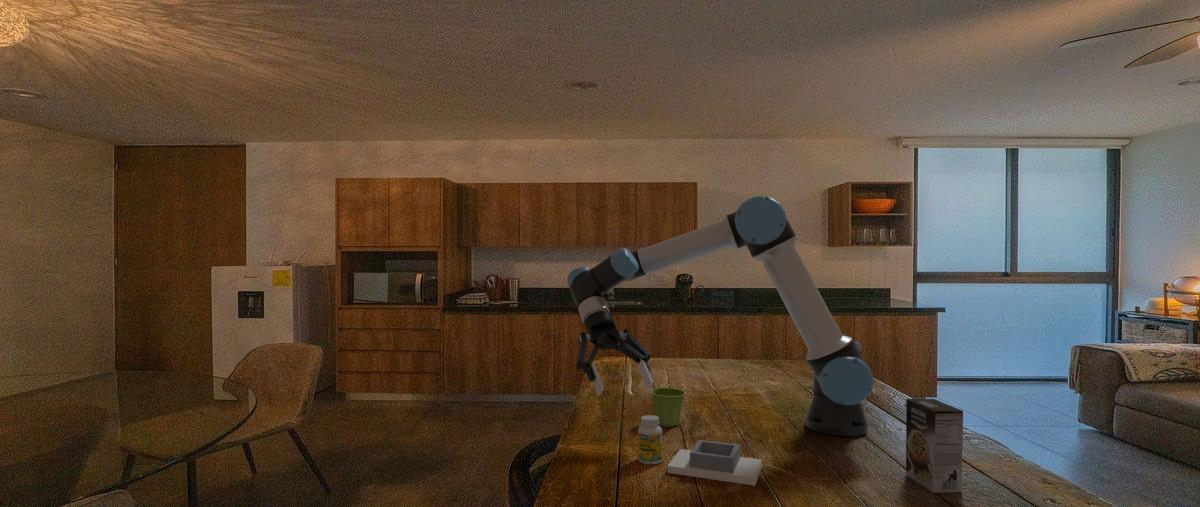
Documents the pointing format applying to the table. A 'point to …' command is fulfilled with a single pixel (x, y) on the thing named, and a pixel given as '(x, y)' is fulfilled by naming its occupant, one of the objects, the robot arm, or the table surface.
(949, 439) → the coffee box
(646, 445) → the supplement bottle
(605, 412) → the table surface
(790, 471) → the table surface
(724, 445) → the white base grey socket
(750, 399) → the table surface
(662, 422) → the plant pot
